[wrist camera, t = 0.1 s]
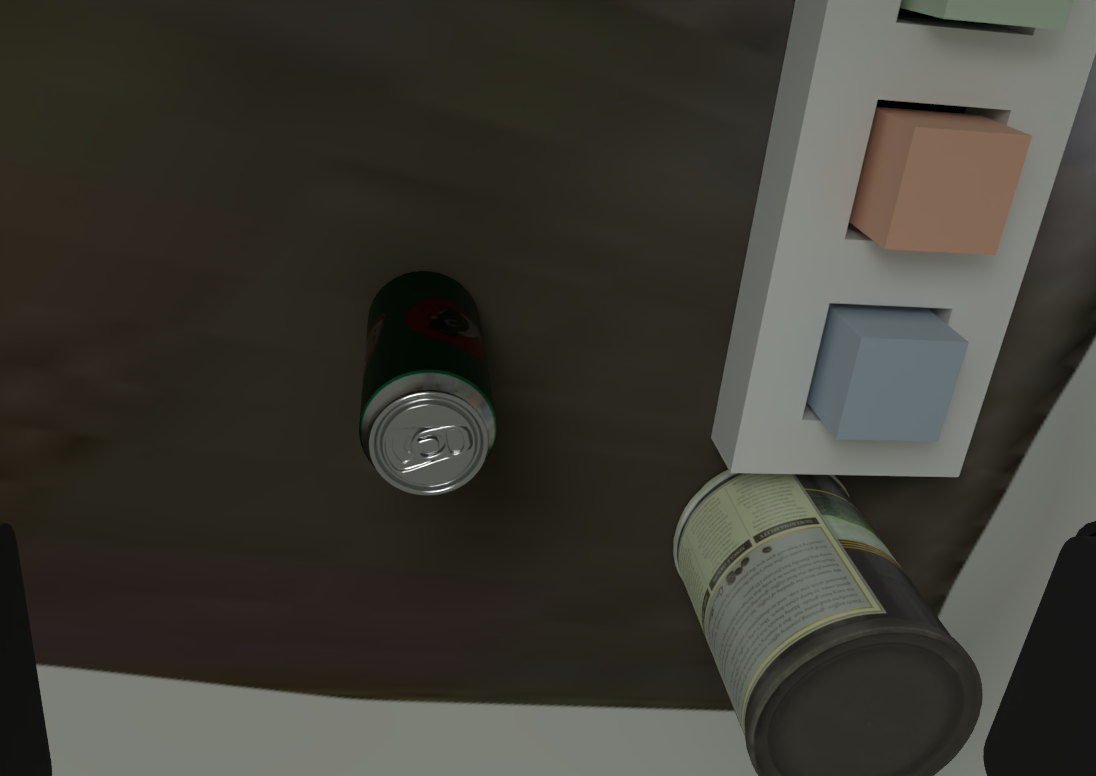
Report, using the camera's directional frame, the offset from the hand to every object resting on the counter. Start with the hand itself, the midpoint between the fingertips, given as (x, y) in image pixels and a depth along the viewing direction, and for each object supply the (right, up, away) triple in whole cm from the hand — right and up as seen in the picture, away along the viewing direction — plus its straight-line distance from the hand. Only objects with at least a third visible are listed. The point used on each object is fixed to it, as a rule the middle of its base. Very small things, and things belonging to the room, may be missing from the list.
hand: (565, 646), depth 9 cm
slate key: (+15, +4, +39) cm, 42 cm away
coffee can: (+12, -6, +46) cm, 48 cm away
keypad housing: (+16, +13, +37) cm, 42 cm away
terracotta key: (+16, +12, +35) cm, 40 cm away
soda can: (-6, +6, +38) cm, 39 cm away
